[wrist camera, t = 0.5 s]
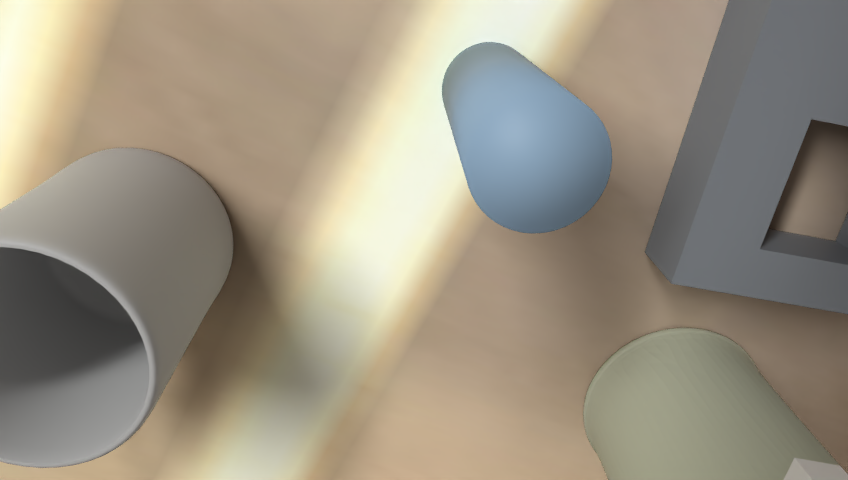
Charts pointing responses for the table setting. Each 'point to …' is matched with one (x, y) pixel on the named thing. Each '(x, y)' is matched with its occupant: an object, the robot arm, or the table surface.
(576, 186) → the peg
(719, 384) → the can
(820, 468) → the robot arm
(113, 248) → the mug
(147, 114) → the table surface
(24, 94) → the table surface
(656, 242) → the socket
